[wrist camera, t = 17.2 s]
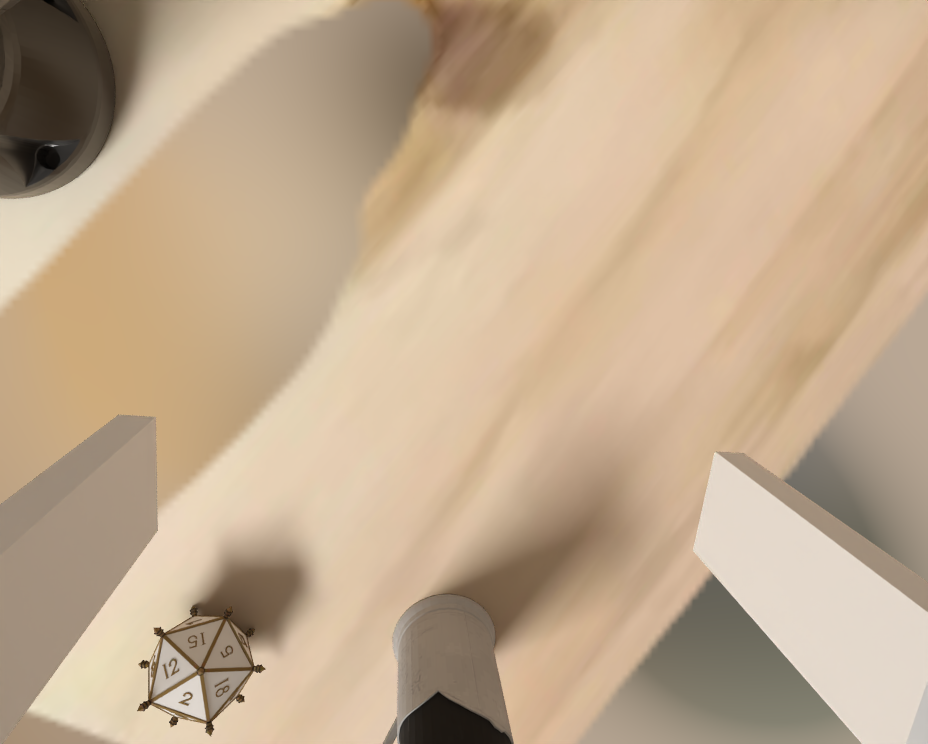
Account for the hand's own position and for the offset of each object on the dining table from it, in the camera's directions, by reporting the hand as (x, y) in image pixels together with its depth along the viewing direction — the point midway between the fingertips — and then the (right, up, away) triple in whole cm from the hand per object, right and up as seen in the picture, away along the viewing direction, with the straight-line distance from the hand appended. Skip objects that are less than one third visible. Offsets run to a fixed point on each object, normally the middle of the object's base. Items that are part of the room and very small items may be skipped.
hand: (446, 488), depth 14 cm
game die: (-20, -18, +36) cm, 45 cm away
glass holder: (-3, -22, +38) cm, 44 cm away
